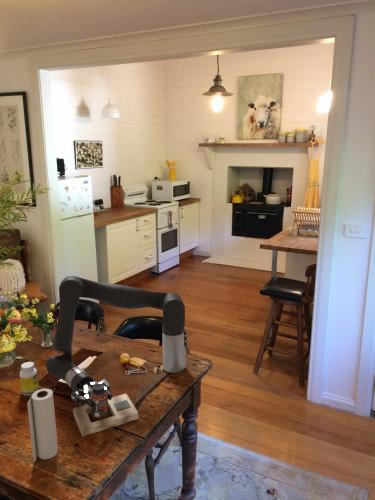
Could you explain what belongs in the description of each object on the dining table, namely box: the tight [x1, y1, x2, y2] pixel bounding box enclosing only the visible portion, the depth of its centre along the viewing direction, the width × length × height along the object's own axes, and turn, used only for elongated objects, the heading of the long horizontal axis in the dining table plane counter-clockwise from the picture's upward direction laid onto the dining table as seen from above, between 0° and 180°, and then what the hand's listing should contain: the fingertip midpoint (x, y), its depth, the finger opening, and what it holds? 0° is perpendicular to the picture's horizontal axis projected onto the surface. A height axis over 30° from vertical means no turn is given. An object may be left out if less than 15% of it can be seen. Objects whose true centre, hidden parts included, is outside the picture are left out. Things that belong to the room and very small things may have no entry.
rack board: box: [72, 393, 140, 437], centre depth 147 cm, size 20×13×3 cm, turn 117°
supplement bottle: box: [90, 382, 109, 420], centre depth 145 cm, size 6×6×11 cm
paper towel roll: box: [26, 388, 59, 463], centre depth 127 cm, size 7×6×21 cm
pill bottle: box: [19, 361, 40, 396], centre depth 161 cm, size 6×6×12 cm
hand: (102, 401), depth 143 cm, fingers closed on supplement bottle, 6 cm apart
